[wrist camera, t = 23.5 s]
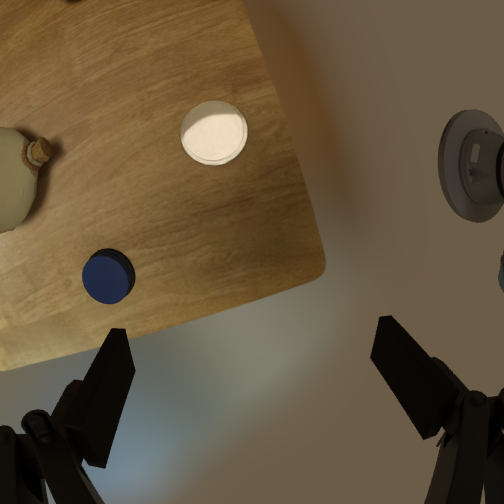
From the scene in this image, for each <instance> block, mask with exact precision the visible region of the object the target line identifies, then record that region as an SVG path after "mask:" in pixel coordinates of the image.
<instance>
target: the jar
mask: <svg viewBox="0 0 504 504" xmlns="http://www.w3.org/2000/svg"><path fill="white" fill-rule="evenodd" d="M247 136H248V128H247V123H246V121H245V118H244V116H243V115H242V113H241V112H240V111H239V110H238V109H237V108H236V107H234V106H233V105H231V104H229V103H227V102H223V101H217V100H213V101H206V102H203V103H201V104H199V105H197V106H195V107H194V108H193V109H191V110H190V111H189V112H188V114H187V115H186V116H185V118H184V120H183V122H182V125H181V131H180V137H181V142H182V145H183V147H184V149H185V151H186V152H187V154H188V155H189V156H190V157H191V158H193V159H194V160H196V161H197V162H199V163H202V164H205V165H221V164H224V163H227V162H229V161H231V160H232V159H234V158H235V157H236V156H238V155H239V153H240V152H241V151H242V149H243V148H244V146H245V144H246V141H247Z"/></svg>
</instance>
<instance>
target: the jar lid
mask: <svg viewBox="0 0 504 504" xmlns="http://www.w3.org/2000/svg"><path fill="white" fill-rule="evenodd" d="M82 280H83V284H84V287H85V289H86V291H87V292H88V293H89V295H90V296H91V297H92V298H94V299H95V300H97V301H98V302H101V303H104V304H115V303H118V302H119V301H121V300H122V299H123V298H124V297H125V296H126V295H127V293H128V291H129V290H130V288H131V283H132V275H131V271H130V269H129V267H128V265H127V263H126V262H125V261H124V260H123V259H122V258H121V257H120V256H118V255H117V254H114V253H111V252H101V253H98V254H96V255H95V256H93V257H91V258H90V260H89V261H88V262H87V263H86V264H85V266H84V268H83V272H82Z"/></svg>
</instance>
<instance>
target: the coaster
mask: <svg viewBox="0 0 504 504" xmlns="http://www.w3.org/2000/svg"><path fill="white" fill-rule="evenodd" d="M101 252H111V253H114V254H117V255H118V256H120V257H121V258H122V259H123V260H124V261H125V262H126V263H127V265H128V267H129V269H130V271H131V275H132V283H131V288H130V290H129V291H128V293H127V295H128V294H129V293H130V291H131V290H132V288H133V286H134V283H135V272H134V268H133V266H132V264H131V262H130V261H129V259H128V258H127V257H126V256H125V255H123V254H122V253H121V252H119V251H117V250H114V249H102V250H99V251H97V252H96V253H95V254H93V255H92V256H91V257H93V256H95V255H96V254H98V253H101ZM91 257H90V258H91ZM89 260H90V259H89ZM127 295H126V296H127Z"/></svg>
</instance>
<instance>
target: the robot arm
mask: <svg viewBox="0 0 504 504" xmlns="http://www.w3.org/2000/svg"><path fill="white" fill-rule="evenodd" d="M458 165H459V176H460V180H461V184H462V186H463V189H464V191H465V193H466V194H467V196H468V197H469V198H470V199H471V200H472V201H473V202H475V203H478V204H481V205H493V204H500V203H504V137H503V136H501V135H499V134H497V133H495V132H493V131H491V130H488V129H474V130H472V131H470V132H469V133H468V134H467V135H466V137H465V138H464V140H463V142H462V145H461V148H460V152H459V163H458ZM498 280H499V285H500V287H501V289H502V291H503V292H504V252H503V255H502V257H501V266H500V271H499V275H498ZM370 358H371V360H372V361H373V363H374V364H375V366H376V367H377V369H378V370H379V372H380V373H381V375H382V376H383V378H384V379H385V381H386V382H387V384H388V385H389V387H390V389H391V390H392V392H393V393H394V394H395V396H396V398H397V399H398V401H399V402H400V404H401V405H402V407H403V409H404V410H405V412H406V413H407V415H408V416H409V418H410V420H411V421H412V423H413V424H414V426H415V427H416V429H417V430H418V432H419V434H420V435H421V437H422V439H423V440H425V439H428V438H430V437H433V436H435V435H437V433H438V432H439V430H440V428H441V427H443V428H444V430H445V432H444V434H443V435H442V437H441V439H440V440H439V442H438V443H437V445H436V446H437V447H438V446H439V445H440V443H441V445H440V450H439V454H438V458H437V462H436V466H435V470H434V473H433V477H432V480H431V484H430V487H429V490H428V493H427V497H426V500H425V503H424V504H480V502H481V496H482V490H483V484H484V491H485V504H504V435H503V432H502V430H504V388H503V389H501V391H500V393H499V395H498V396H494V397H487V396H486V395H485V394H483V393H482V392H479V391H473V390H472V391H469V390H468V389H467V387H466V386H465V385H464V384H463V383H462V382H461V381H460V380H459V378H458V377H457V376H456V375H455V374H453V372H452V371H451V370H450V369H449V368H448V367H447V365H446V364H445V363H444V362H443V361H441V360H439V359H438V358H436V357H432V358H431V357H430V356H429V355H428V354H427V353H426V352H425V351H424V350H423V349H422V348H421V347H420V345H419V344H418V343H417V342H416V341H415V340H414V339H413V338H412V337H411V336H410V335H409V334H408V332H407V331H406V330H405V329H404V328H403V327H402V326H401V325H400V324H399V323H398V322H397V321H396V320H395V319H394V318H393V317H392V316H391V315H390V316H382V317H379V321H378V327H377V331H376V335H375V339H374V344H373V348H372V352H371V356H370ZM135 371H136V370H135V367H134V363H133V359H132V355H131V351H130V347H129V343H128V339H127V334H126V330H125V329H119V328H111V330H110V332H109V334H108V335H107V337H106V339H105V341H104V342H103V344H102V346H101V348H100V350H99V352H98V353H97V355H96V357H95V359H94V361H93V363H92V364H91V367H90V368H89V370H88V372H87V374H86V376H85V378H84V380H83V381H82V380H73V381H72V382H71V383H70V384H69V385H67V387H66V388H65V390H64V392H63V394H62V396H61V398H60V399H59V402H58V403H57V405H56V407H55V409H54V411H53V413H52V415H51V416H49V414H48V413H47V412H45V411H44V410H39V409H37V410H32V411H30V412H28V413H27V414H26V415H25V416H24V417H23V419H22V421H21V426H22V428H23V430H24V431H25V433H26V434H16V433H15V431H14V430H13V429H12V428H11V427H9V426H5V425H2V426H0V504H48V498H47V493H46V486H45V480H46V482H47V485H48V487H49V489H50V492H51V494H52V496H53V498H54V500H55V502H56V504H105V503H104V502H103V500H102V499H101V497H100V495H99V494H98V492H97V491H96V489H95V487H94V486H93V484H92V482H91V481H90V479H89V477H88V475H87V474H86V472H85V470H84V468H83V467H82V465H81V464H82V461H83V458H84V459H85V461H86V462H87V464H88V465H90V466H95V467H99V468H106V464H107V460H108V457H109V454H110V450H111V446H112V443H113V440H114V437H115V433H116V430H117V427H118V423H119V419H120V417H121V414H122V410H123V407H124V404H125V401H126V398H127V395H128V392H129V389H130V386H131V383H132V380H133V377H134V374H135Z"/></svg>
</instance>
